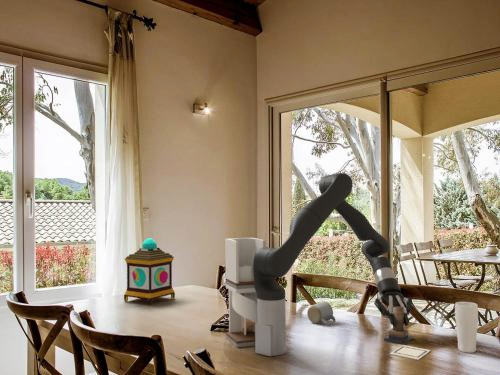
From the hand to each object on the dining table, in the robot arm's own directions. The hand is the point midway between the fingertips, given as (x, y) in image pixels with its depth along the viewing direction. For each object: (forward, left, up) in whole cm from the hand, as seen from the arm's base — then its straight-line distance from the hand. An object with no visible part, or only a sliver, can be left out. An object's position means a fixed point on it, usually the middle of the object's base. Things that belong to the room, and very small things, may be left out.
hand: (400, 324), depth 169 cm
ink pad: (+1, +1, -6) cm, 6 cm away
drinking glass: (+3, -21, -6) cm, 22 cm away
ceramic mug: (+6, +34, -6) cm, 35 cm away
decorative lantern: (-9, +121, -6) cm, 122 cm away
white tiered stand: (-32, +42, -6) cm, 54 cm away
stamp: (+1, +1, -5) cm, 5 cm away
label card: (-10, -7, -6) cm, 14 cm away
